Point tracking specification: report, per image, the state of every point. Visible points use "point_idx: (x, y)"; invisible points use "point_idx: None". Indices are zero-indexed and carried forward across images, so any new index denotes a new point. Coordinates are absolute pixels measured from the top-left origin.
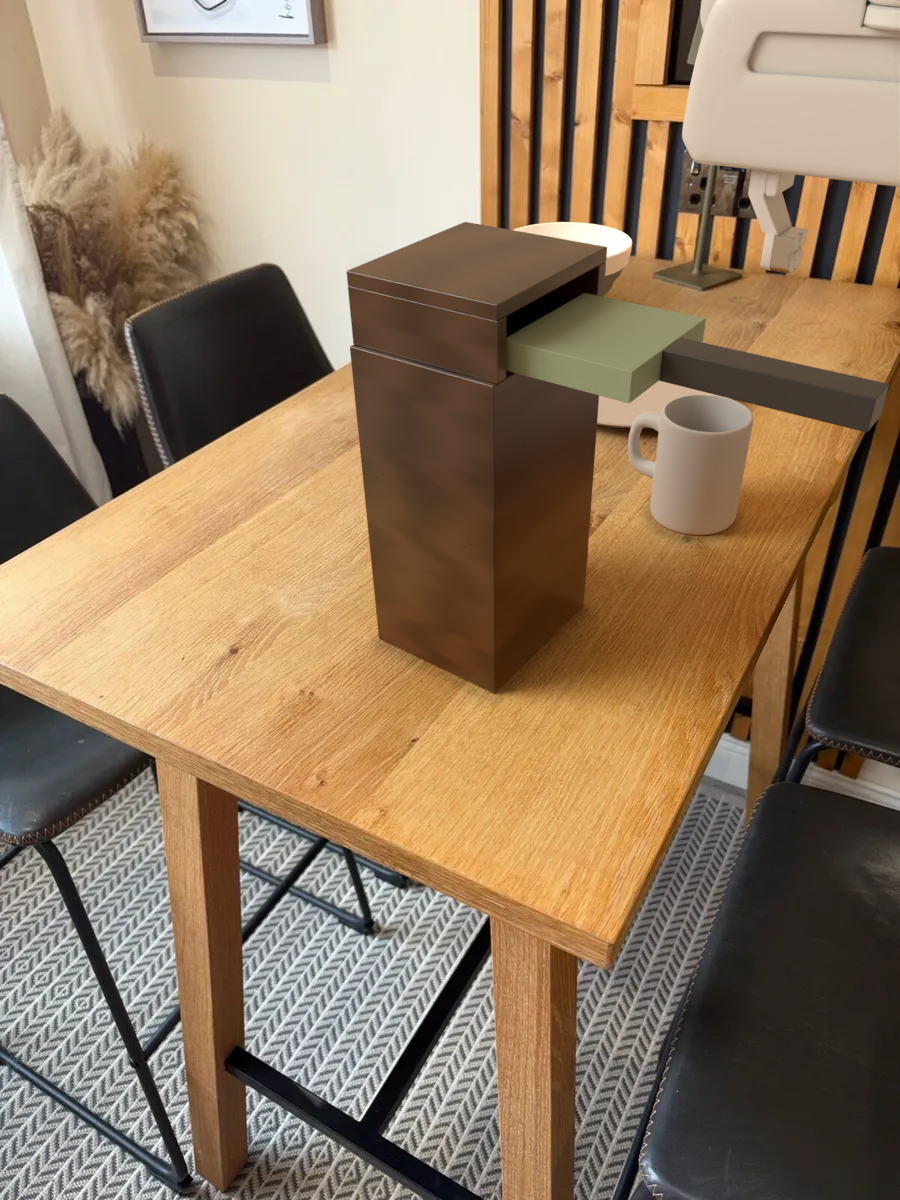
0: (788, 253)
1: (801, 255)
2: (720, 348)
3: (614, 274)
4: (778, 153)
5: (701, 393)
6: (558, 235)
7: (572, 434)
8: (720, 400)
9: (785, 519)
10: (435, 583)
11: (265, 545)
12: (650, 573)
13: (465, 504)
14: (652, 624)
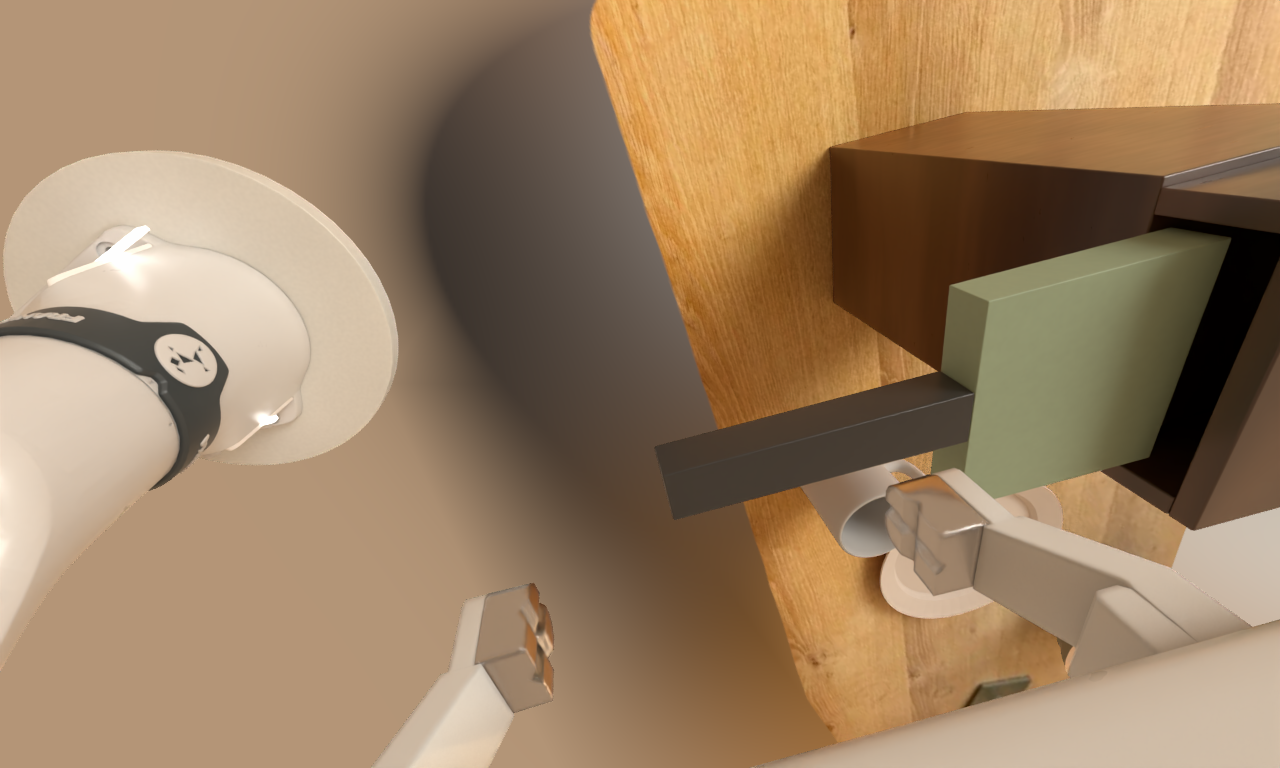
0: (924, 508)
1: (899, 546)
2: (903, 452)
3: (1067, 650)
4: (1275, 701)
5: (906, 581)
6: None
7: None
8: (880, 550)
9: (762, 502)
10: (965, 132)
11: None
12: (811, 376)
13: (1019, 149)
14: (773, 327)
